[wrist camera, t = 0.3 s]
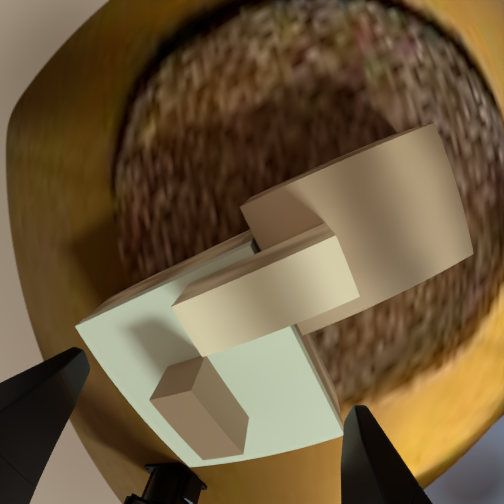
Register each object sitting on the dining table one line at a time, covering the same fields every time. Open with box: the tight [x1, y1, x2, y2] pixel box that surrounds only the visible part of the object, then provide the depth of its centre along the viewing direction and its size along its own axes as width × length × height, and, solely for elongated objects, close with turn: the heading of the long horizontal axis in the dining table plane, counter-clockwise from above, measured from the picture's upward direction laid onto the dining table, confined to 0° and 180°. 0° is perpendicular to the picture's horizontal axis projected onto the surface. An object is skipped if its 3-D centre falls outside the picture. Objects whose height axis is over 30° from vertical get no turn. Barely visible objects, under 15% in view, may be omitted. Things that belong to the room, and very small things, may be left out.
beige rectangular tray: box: [84, 123, 473, 422], centre depth 20 cm, size 26×18×6 cm
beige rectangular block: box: [171, 223, 360, 357], centre depth 15 cm, size 8×3×3 cm, turn 116°
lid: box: [75, 241, 343, 467], centre depth 18 cm, size 14×16×6 cm
